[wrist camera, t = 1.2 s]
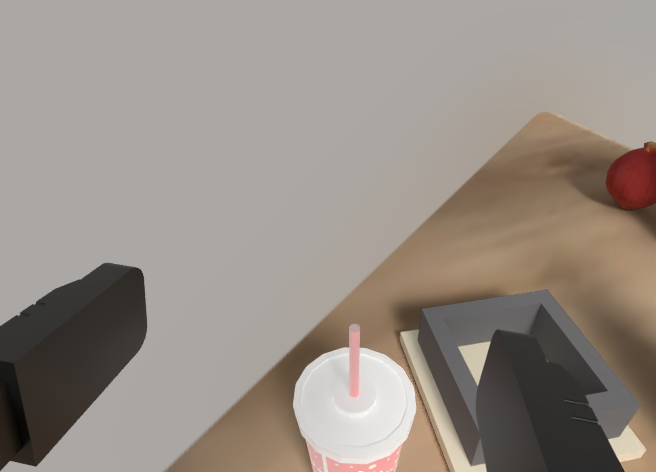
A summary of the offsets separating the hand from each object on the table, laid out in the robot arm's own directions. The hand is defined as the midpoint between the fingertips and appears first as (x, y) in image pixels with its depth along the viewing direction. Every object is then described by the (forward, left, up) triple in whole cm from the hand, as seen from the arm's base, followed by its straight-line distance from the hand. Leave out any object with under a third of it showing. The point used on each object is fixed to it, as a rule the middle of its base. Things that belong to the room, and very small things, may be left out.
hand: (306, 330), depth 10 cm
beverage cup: (-3, -6, -21) cm, 22 cm away
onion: (-39, -29, -21) cm, 53 cm away
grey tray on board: (-15, -10, -21) cm, 27 cm away
